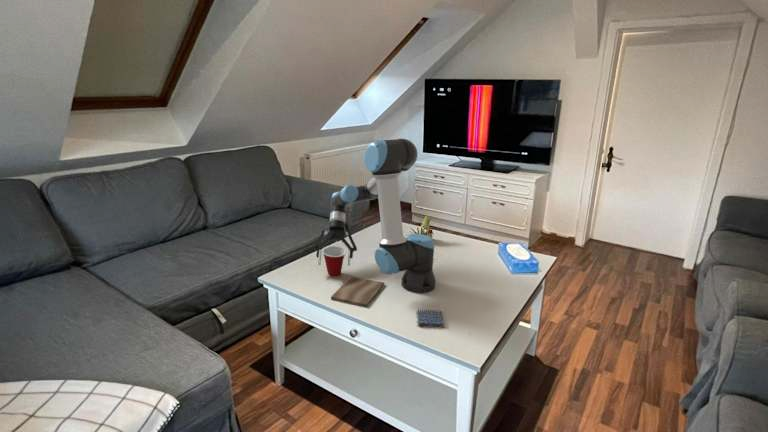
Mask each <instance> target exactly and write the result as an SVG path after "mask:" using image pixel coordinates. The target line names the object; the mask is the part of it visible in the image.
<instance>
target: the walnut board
mask: <svg viewBox="0 0 768 432" xmlns="http://www.w3.org/2000/svg"><path fill="white" fill-rule="evenodd" d="M384 286H385V282H384V281H377V280H375V279H373V280H372V279H367V278H364V277H363V278H362V277H357V276H350V277H349V278H348V279H347V280H346V281H345V282H344V283H343V284H342V285H341V286H340V287H339V288H338V289H337V290H336V291H334V293H333V294H332V295H331V296H330V300H333V301H336V302H342V303H346V304H350V305H355V306H359V307H364V308H367V307H368V306H369V305H370V303H372V301H373V300H374V299H375V297H376V296H377V295H378V294H379V292H380V291H381V290H382V288H383V287H384Z"/></svg>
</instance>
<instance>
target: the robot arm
mask: <svg viewBox="0 0 768 432" xmlns="http://www.w3.org/2000/svg"><path fill="white" fill-rule="evenodd" d="M418 153H419V152H418V149H417V146H416V145H415V144H414V143H413V142H412V141H411V140H409V139H406V138H398V139H396V138H395V139H383V140H382V139H380V140H376V141H372V142H370V143H369V144H368V145H367V148H365V151H364V165H365V166H366V169H367V170H368V171H369V172H371V176H372V178H371V179H370V180H369V181H368V182H367V183H366V184H364V185H360V186H358V185H357V186H355V185H352V184H347V185H345V186H344V187H343V188H342V189H341V190H340V191H336V192H333V193H332V196H331V198H330V199H331V200H330V213H329V225H328V231H325V230H322V231H321V234H320V236H319V237H318V239H317V240H316V242H315V243H314V245H313V246H312V248H313V250H314V251H316V257H317V258H318V260H317V264H318V266H321V262H322V253H323V252H322V251H323V249H324V247H325V248H326V246H327V245H328V244H329V243H330V242H340V241H341V242H342V243H343V245H344V246H345V247H346V248H347V249H348V255H347V266H351V259H353V256H354V252H356V251H358V247H357V245H356V243H355V241H354V239H353V237H352V233H351V230H348V231H346V229H345V228H346V219H347V218H346V215H347V214H346V213H347V208H349V206H350V205H351V204H355V203H356V204H357V203H363V202H366V201H374V200H376V199H378V208H379V216H380V217H379V218H380V220H379V221H380V227H381V229H380V230H381V236H382V237H381V239H379V241H378V244H379V247H377V248H376V249H375V252H374V260H375V263H376V265H377V267H378V268H379V270H380V271H381V272H382V273H383V274H386V275H394V274H398V273H400V272H403V271H404V272H403V275H402V277H401V287H402V288H403V289H405V290H406V291H408V292H412V293H417V294H419V293H420V294H423V293H429V292H432V291H433V290H434V289H436V285H437V283H436V282H437V281H436V280H437V279H436V278H435V274H434V273H435V272H434V270H433V269H434V268H433V267H434V266H433V265H434V253H435V252H434V251H435V241H434V239H433V237H432V238H431V237H429V236H427V235H423V234H419V233H410V234H408V235H407V237H406V236H404V233H403V231H404V230H403V219H402V209H401V200H400V199H401V198H400V197H401V196H400V189H399V187H400V186H399V177H400V176H401V174H402V173H403V172H407V171H409V170H410V169H411V168H412V167H413V166H414V165H415V164H416V163H417V160H418ZM327 235H328V236H327ZM326 236H327V237H326ZM345 236H346V237H347V238H348V239H349V240H346V239H345ZM325 237H326V238H325ZM324 238H325V239H324ZM323 240H324V241H323ZM322 241H323V242H322ZM348 241H349V242H350V243H351V245H350V243H348Z"/></svg>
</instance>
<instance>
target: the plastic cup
mask: <svg viewBox="0 0 768 432" xmlns="http://www.w3.org/2000/svg"><path fill="white" fill-rule="evenodd" d="M321 251H322V253H323V257H324V261H325V265H326V271H327V274H328V275H327V276H329V277H330V278H331V277H333V278H335V277H336V278H337V277H339V276H341V274H342V269H343V262H344V259H345V255H346V254H347V250H346V249H344V248H343V247H340V246H328V247H325V248H323V249H322V250H321Z"/></svg>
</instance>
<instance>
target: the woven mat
mask: <svg viewBox="0 0 768 432" xmlns="http://www.w3.org/2000/svg"><path fill="white" fill-rule="evenodd" d="M416 318H417V320H416V324H417V325H416V326H417V327H420V328H423V327H424V328H429V327H431V328H446V325H445V324H446V322H445V319H444V314H443V311H442V310H440V309H438V310H435V309H434V310H431V309H428V310H427V309H417V311H416Z"/></svg>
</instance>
